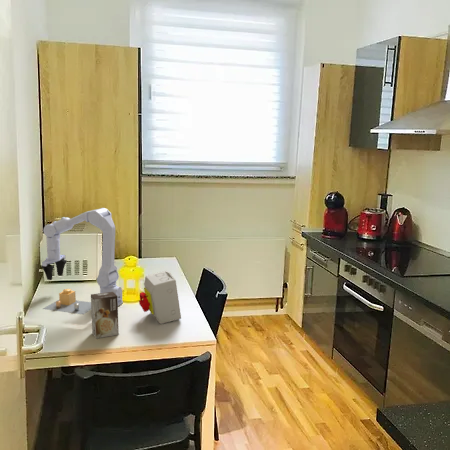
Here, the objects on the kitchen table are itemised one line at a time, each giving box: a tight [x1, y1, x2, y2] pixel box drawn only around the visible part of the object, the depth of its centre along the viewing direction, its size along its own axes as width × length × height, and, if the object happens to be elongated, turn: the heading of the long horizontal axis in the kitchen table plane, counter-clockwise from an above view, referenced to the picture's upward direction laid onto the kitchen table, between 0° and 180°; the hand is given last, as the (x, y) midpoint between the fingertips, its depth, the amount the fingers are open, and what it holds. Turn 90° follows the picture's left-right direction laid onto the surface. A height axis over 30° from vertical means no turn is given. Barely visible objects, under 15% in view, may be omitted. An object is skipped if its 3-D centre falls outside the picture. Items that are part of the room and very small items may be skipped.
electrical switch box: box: [138, 270, 182, 325], centre depth 210 cm, size 15×15×20 cm
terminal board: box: [42, 299, 91, 315], centre depth 219 cm, size 20×14×2 cm
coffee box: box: [90, 292, 120, 339], centre depth 193 cm, size 9×6×16 cm
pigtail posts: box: [55, 300, 79, 311], centre depth 215 cm, size 11×2×3 cm, turn 74°
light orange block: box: [58, 288, 77, 305], centre depth 222 cm, size 5×5×6 cm
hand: (54, 277), depth 231 cm, fingers open, 7 cm apart
